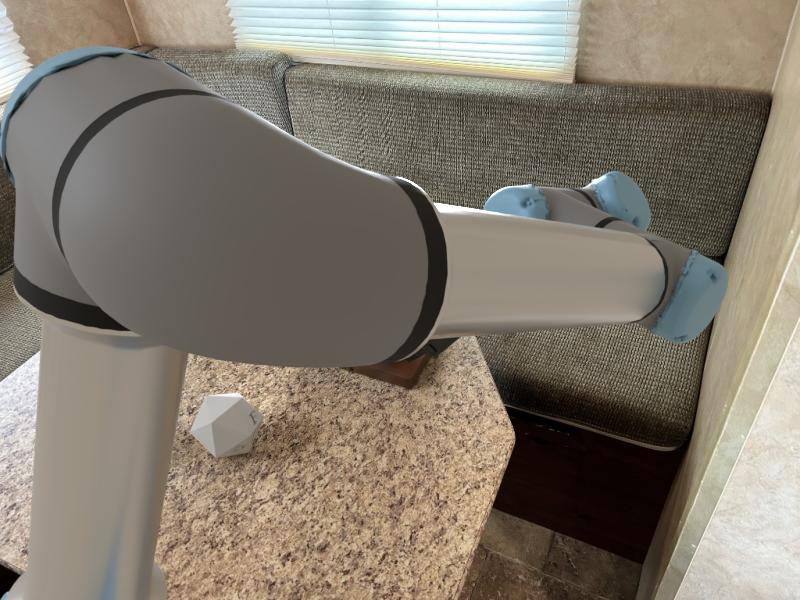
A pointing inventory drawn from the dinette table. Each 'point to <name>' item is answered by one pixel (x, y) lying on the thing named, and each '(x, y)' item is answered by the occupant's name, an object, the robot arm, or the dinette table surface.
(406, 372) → the wooden l-shaped step
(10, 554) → the dinette table surface
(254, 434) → the die
